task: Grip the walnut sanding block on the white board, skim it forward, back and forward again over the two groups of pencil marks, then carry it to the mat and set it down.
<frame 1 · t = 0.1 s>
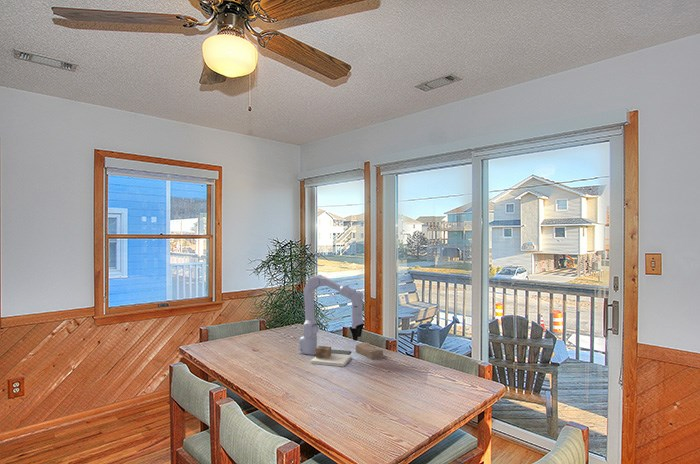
hand: (357, 338, 204), 10 cm above the table, tool pointing down, fingers open, 7 cm apart
board: (331, 360, 198), on the table
brick: (369, 355, 209), on the table
sanding block: (323, 357, 199), point 2 cm above the table, touching board
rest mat: (338, 353, 210), on the table
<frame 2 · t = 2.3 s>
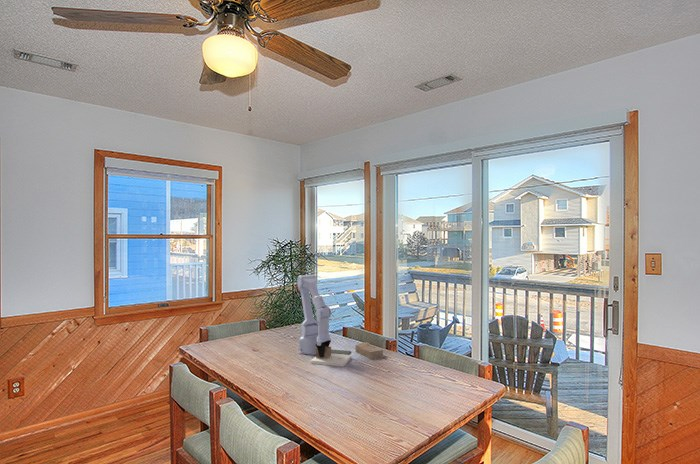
hand: (323, 355, 199), 2 cm above the table, tool pointing down, fingers closed on sanding block, 5 cm apart
sanding block: (323, 357, 199), point 2 cm above the table, touching board, gripper
everything else where it was.
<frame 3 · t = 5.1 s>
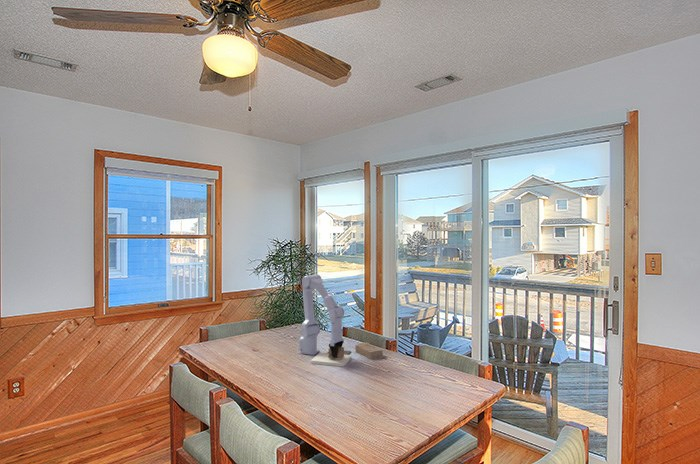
hand: (336, 356, 197), 3 cm above the table, tool pointing down, fingers closed on sanding block, 5 cm apart
sanding block: (336, 357, 197), point 2 cm above the table, touching gripper
everything else where it was.
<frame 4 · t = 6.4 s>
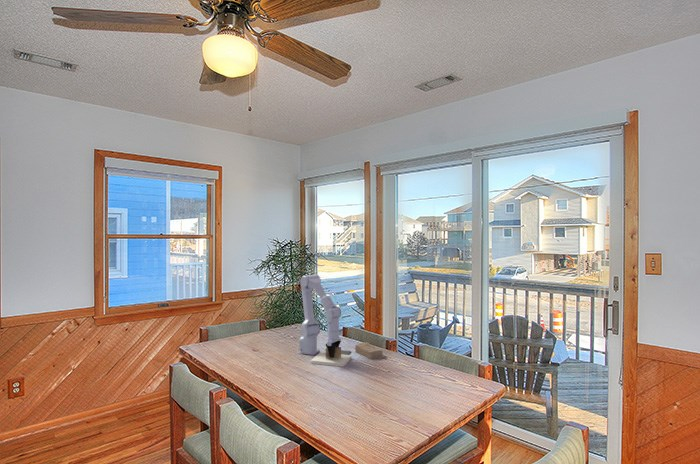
hand: (333, 355, 198), 3 cm above the table, tool pointing down, fingers closed on sanding block, 5 cm apart
sanding block: (333, 357, 198), point 2 cm above the table, touching gripper
everything else where it was.
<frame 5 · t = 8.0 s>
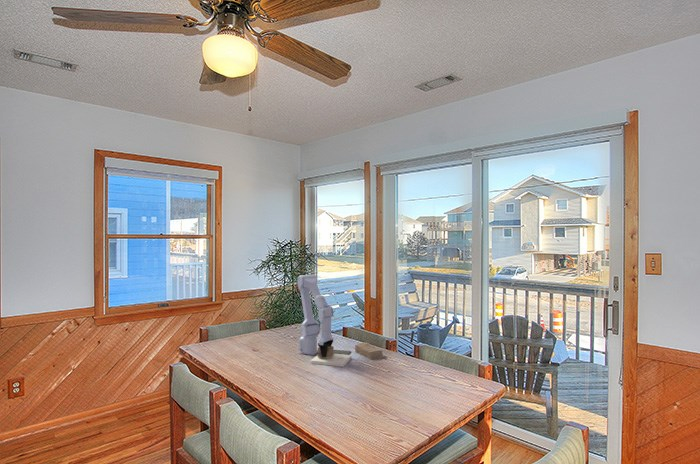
hand: (325, 355, 199), 3 cm above the table, tool pointing down, fingers closed on sanding block, 5 cm apart
sanding block: (325, 356, 199), point 2 cm above the table, touching gripper
everything else where it was.
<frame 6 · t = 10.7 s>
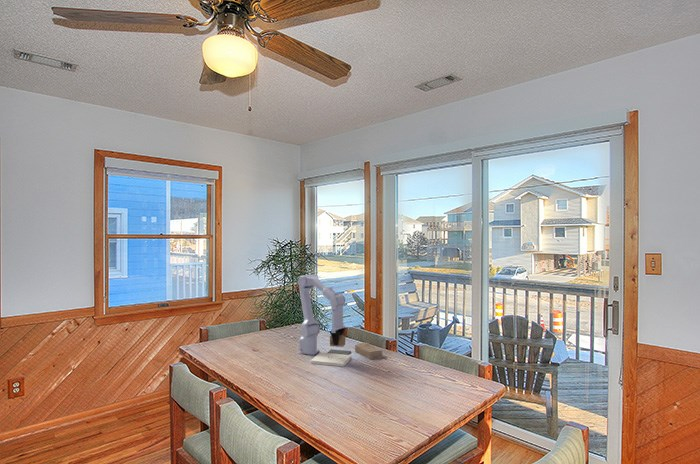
hand: (337, 343, 197), 9 cm above the table, tool pointing down, fingers closed on sanding block, 5 cm apart
sanding block: (337, 345, 197), point 8 cm above the table, touching gripper
everything else where it was.
when the fingers open (2 cm above the table, at t = 13.3 s): sanding block stays where it is, resting on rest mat.
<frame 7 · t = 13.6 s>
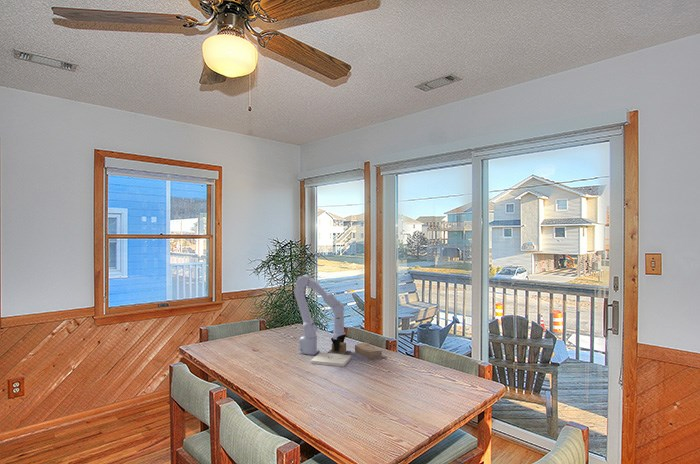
hand: (338, 348, 210), 3 cm above the table, tool pointing down, fingers open, 7 cm apart
sanding block: (339, 352, 210), point 1 cm above the table, touching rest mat
everything else where it was.
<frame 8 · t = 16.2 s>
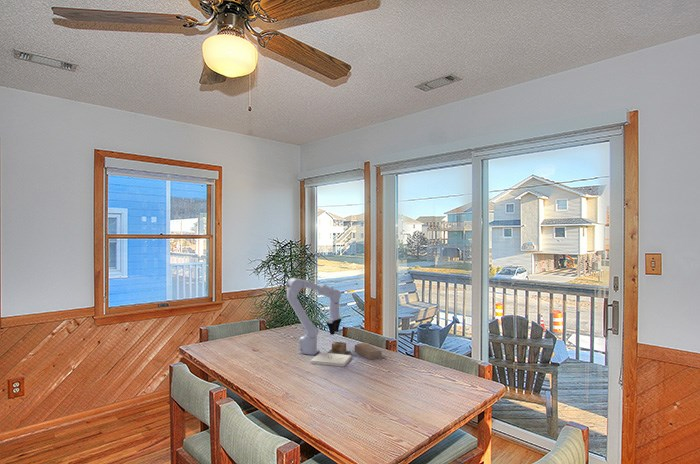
hand: (334, 332, 219), 9 cm above the table, tool pointing down, fingers open, 7 cm apart
nothing on the table moved.
at the end: sanding block 0.1 cm off-centre on the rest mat, point 0.6 cm above the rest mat's base; sanding block tilted 0°; the gripper is holding nothing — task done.
